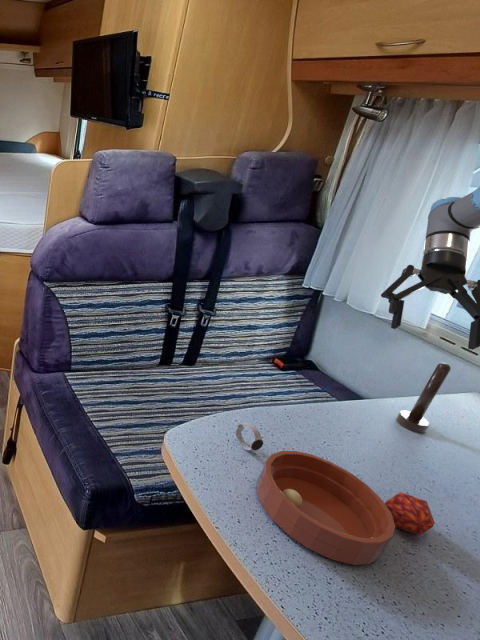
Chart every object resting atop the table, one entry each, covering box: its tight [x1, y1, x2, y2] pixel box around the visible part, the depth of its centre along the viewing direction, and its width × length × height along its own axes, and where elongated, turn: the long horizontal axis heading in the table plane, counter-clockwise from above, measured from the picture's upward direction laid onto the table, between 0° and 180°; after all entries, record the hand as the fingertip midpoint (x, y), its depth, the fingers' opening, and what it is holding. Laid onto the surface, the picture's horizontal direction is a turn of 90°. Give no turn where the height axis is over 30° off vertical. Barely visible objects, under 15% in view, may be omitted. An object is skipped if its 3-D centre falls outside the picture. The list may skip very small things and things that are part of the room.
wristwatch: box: [234, 422, 264, 451], centre depth 92 cm, size 3×5×5 cm, turn 11°
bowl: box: [256, 450, 396, 566], centre depth 78 cm, size 18×18×6 cm
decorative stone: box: [384, 491, 436, 536], centre depth 77 cm, size 6×7×8 cm
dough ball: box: [282, 489, 302, 508], centre depth 79 cm, size 3×3×3 cm
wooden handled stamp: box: [395, 362, 451, 434], centre depth 100 cm, size 5×5×16 cm
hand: (433, 337), depth 105 cm, fingers open, 13 cm apart
